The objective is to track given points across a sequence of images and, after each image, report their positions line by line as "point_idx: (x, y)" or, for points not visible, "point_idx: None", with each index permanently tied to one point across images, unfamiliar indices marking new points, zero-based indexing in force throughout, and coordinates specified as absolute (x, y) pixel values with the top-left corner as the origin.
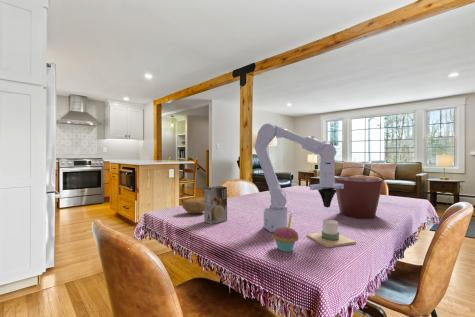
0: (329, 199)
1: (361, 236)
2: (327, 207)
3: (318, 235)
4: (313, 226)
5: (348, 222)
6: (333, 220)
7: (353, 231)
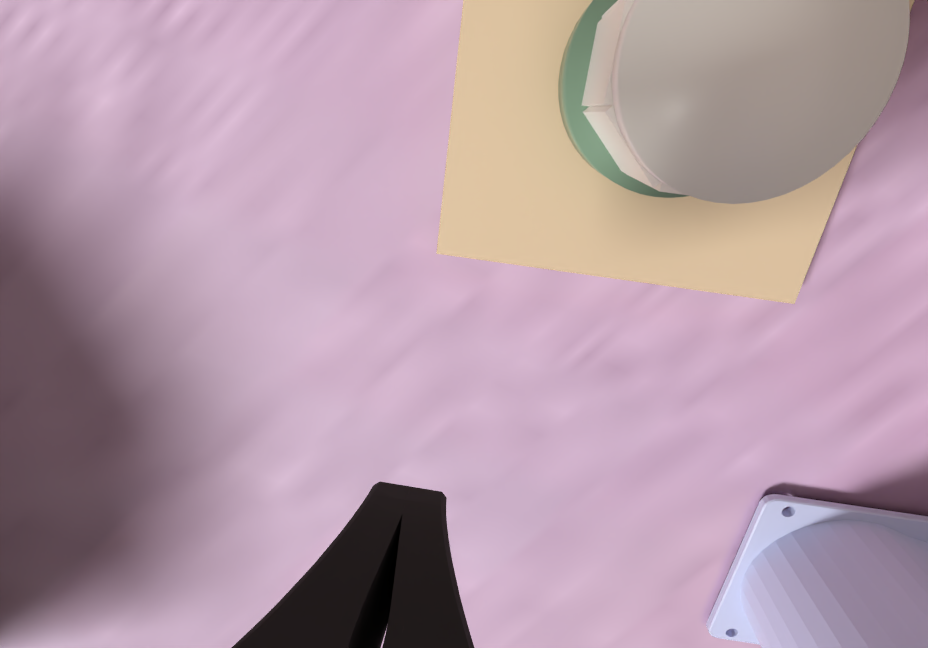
0: (354, 632)
1: (206, 14)
2: (431, 491)
3: (716, 211)
4: (462, 489)
5: (31, 437)
6: (638, 96)
7: (174, 199)
